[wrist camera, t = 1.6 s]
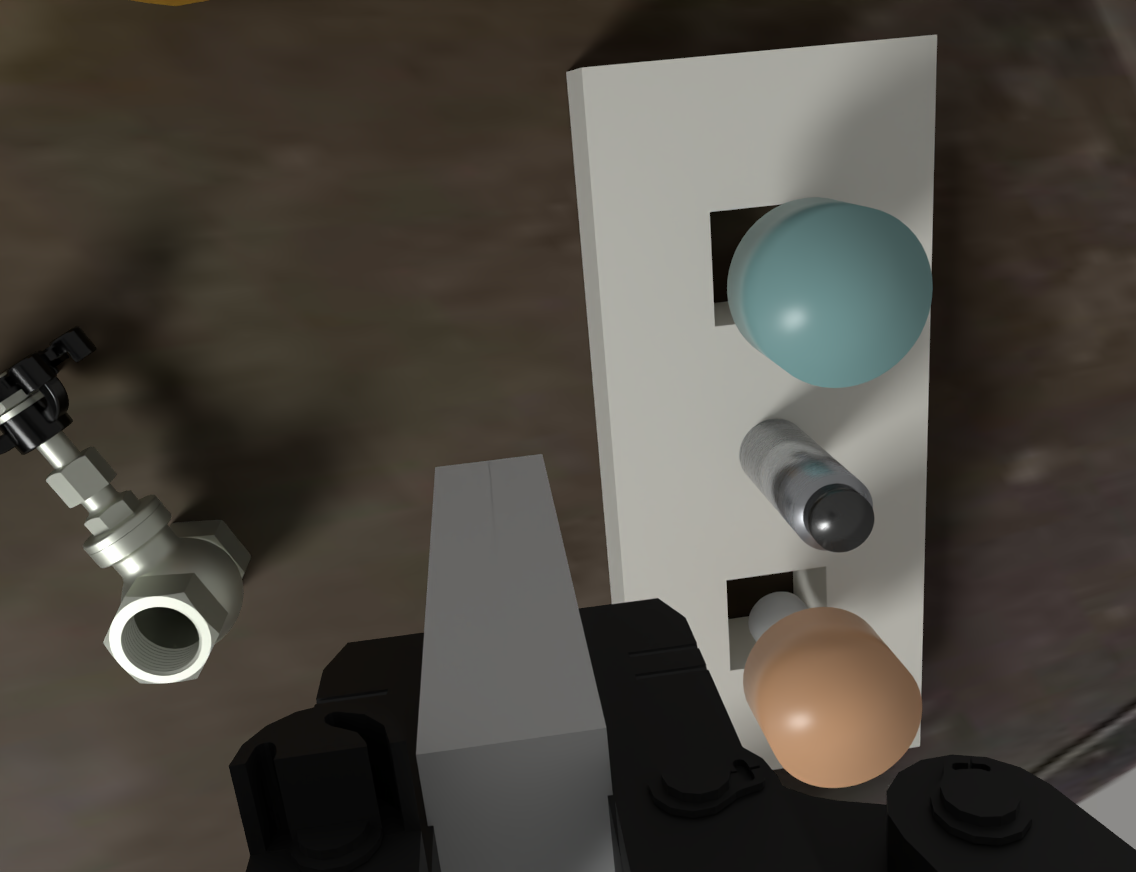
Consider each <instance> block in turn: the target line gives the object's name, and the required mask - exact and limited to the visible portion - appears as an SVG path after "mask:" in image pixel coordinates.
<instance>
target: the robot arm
mask: <svg viewBox="0 0 1136 872" xmlns="http://www.w3.org/2000/svg"><path fill="white" fill-rule="evenodd" d="M316 700H317V704H315V706H314V708H310V709H306V710H302V711H298V712H295V713H293V714H291V715H289V716H286V717H284V718H282V719H280V720H278V721H276V722H274V723H271V724H269V725H267V726H266V727H264V728H263V729H262V730H260V731H259V732H258V733H257V734H255V735H254V736H253V737H252V738H250V739H249V740H248V741H247V742H245V743H244V744H243V745H242V746H241V748H240V749H239V751H238V753H237V754H236V756H235V757H234V759H233V760H232V762H231V763H230V765H229V769H230V773H231V777H232V781H233V785H234V789H235V794H236V798H237V802H238V806H239V810H240V814H241V819H242V823H243V827H244V831H245V835H246V839H247V844H248V848H249V852H250V859H249V862H248V866H247V869H246V872H1136V850H1135V849H1134V848H1132V847H1131V846H1130V845H1129V844H1127V843H1126V842H1124V841H1123V840H1122V839H1121V838H1119V837H1118V836H1117V835H1115V834H1114V833H1113V832H1111V831H1110V830H1109V829H1108V828H1106V827H1105V826H1104V825H1102V824H1101V823H1100V822H1098V821H1097V820H1096V819H1095V818H1093V817H1092V816H1091V815H1089V814H1088V813H1087V812H1085V811H1084V810H1083V809H1082V808H1080V807H1079V806H1078V805H1076V804H1075V803H1074V802H1072V801H1071V800H1070V799H1069V798H1067V797H1066V796H1065V795H1063V794H1062V793H1061V792H1059V791H1058V790H1057V789H1056V788H1054V787H1053V786H1052V785H1050V784H1049V783H1047V782H1045V781H1043V780H1042V779H1040V778H1038V777H1036V776H1035V775H1033V774H1031V773H1029V772H1028V771H1026V770H1024V769H1022V768H1021V767H1017V766H1014V765H1011V764H1007V763H1004V762H1000V761H997V760H994V759H990V758H987V757H976V756H962V755H948V756H942V757H936V758H931V759H925V760H921V761H919V762H917V763H915V764H914V765H912V766H910V767H908V768H906V769H905V770H903V771H901V772H899V773H898V775H897V776H896V778H895V779H894V781H893V782H892V784H891V786H890V787H889V789H888V790H887V805H882V804H871V803H859V802H847V801H836V800H830V799H824V798H818V797H812V796H809V795H806V794H803V793H800V792H797V791H794V790H791V789H788V788H786V787H784V786H782V785H781V782H780V780H779V778H778V776H777V775H776V774H775V773H774V771H773V770H772V769H771V768H770V766H769V765H768V764H767V763H766V762H765V760H764V759H763V758H761V757H760V756H758V755H756V754H754V753H752V752H751V751H749V750H747V749H745V748H743V747H742V745H741V742H740V740H739V738H738V735H737V733H736V731H735V729H734V726H733V724H732V722H731V720H730V717H729V715H728V713H727V710H726V708H725V706H724V704H723V701H722V699H721V697H720V695H719V692H718V690H717V688H716V685H715V683H714V681H713V679H712V676H711V674H710V672H709V670H707V667H706V663H705V660H704V658H703V656H702V654H701V651H700V649H699V648H698V647H697V642H696V640H695V638H694V635H693V633H692V631H691V629H690V626H689V624H688V622H687V620H686V617H684V616H683V615H681V614H680V613H679V612H677V611H676V610H674V609H673V608H671V607H670V606H669V605H667V604H666V603H664V602H663V601H662V600H660V599H659V598H654V599H647V600H639V601H632V602H624V603H617V604H609V605H602V606H595V607H587V608H580V609H578V605H577V601H576V596H575V592H574V588H573V584H572V579H571V575H570V571H569V566H568V562H567V558H566V554H565V549H564V545H563V541H562V537H561V532H560V528H559V524H558V520H557V515H556V511H555V507H554V503H553V498H552V494H551V490H550V486H549V481H548V477H547V473H546V469H545V464H544V460H543V456H542V454H540V455H532V456H524V457H515V458H507V459H499V460H491V461H483V462H475V463H467V464H459V465H450V466H442V467H435V481H434V496H433V511H432V525H431V540H430V555H429V570H428V584H427V599H426V614H425V628H424V633H418V634H410V635H403V636H395V637H388V638H380V639H373V640H365V641H358V642H350V643H347V644H346V645H345V647H344V648H343V649H342V650H341V651H340V652H339V653H338V654H337V655H336V656H335V658H334V659H333V660H332V661H331V662H330V663H329V664H328V665H327V666H326V668H325V669H324V670H323V673H322V677H321V681H320V685H319V690H318V694H317V698H316Z"/></svg>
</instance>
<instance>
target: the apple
mask: <svg viewBox="0 0 1136 872" xmlns="http://www.w3.org/2000/svg"><path fill="white" fill-rule="evenodd" d="M133 1H139V2H145V3H153V4H162V5H171V6H180V5H185V4H191V3H196V2H202V1H207V0H133Z"/></svg>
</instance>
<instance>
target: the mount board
mask: <svg viewBox="0 0 1136 872" xmlns="http://www.w3.org/2000/svg"><path fill="white" fill-rule="evenodd" d="M936 63H937V35H927V36H916V37H905V38H895V39H884V40H873V41H862V42H852V43H841V44H830V45H819V46H809V47H798V48H787V49H776V50H766V51H755V52H744V53H733V54H723V55H712V56H701V57H690V58H679V59H669V60H658V61H647V62H636V63H626V64H615V65H604V66H593V67H583V68H579V69H575V70H572V71H568V72H566V75H567V87H568V98H569V110H570V122H571V133H572V145H573V157H574V168H575V180H576V192H577V203H578V215H579V227H580V238H581V250H582V262H583V273H584V285H585V296H586V308H587V320H588V331H589V343H590V355H591V366H592V378H593V390H594V401H595V413H596V425H597V436H598V448H599V460H600V471H601V483H602V495H603V506H604V518H605V530H606V541H607V553H608V565H609V576H610V588H611V600H612V604H617V603H624V602H632V601H639V600H647V599H654V598H659V599H660V600H662V601H663V602H664V603H666V604H667V605H669V606H670V607H671V608H673V609H674V610H676V611H677V612H679V613H680V614H681V615H683V616H684V617H686V620H687V622H688V624H689V626H690V629H691V631H692V633H693V635H694V638H695V640H696V642H697V647H698V648H699V649H700V651H701V654H702V656H703V658H704V660H705V663H706V667H707V670H709V672H710V674H711V676H712V679H713V681H714V683H715V685H716V688H717V690H718V692H719V695H720V697H721V699H722V701H723V704H724V706H725V708H726V710H727V713H728V715H729V717H730V720H731V722H732V724H733V726H734V729H735V731H736V733H737V735H738V738H739V740H740V742H741V745H742V747H743V748H745V749H747V750H749V751H751V752H752V753H754V754H756V755H758V756H760V757H761V758H763V759H764V760H765V762H766V763H767V764H768V765H769V766H770V768H771V769H772V770H775V769H782V768H783V767H782V765H781V764H780V763H779V761H778V760H777V758H776V756H775V754H774V752H773V751H772V749H771V747H770V745H769V743H768V741H767V739H766V737H765V735H764V733H763V732H762V730H761V728H760V726H759V724H758V722H757V720H756V718H755V716H754V715H753V713H752V711H751V709H750V707H749V705H748V703H747V700H746V697H745V694H744V688H743V674H744V668H745V664H746V661H747V658H748V656H749V654H750V652H751V650H752V648H753V646H754V645H755V643H756V641H755V639H754V638H753V636H752V634H751V633H750V630H749V626H748V619H749V616H747V617H740V618H733V619H728V607H727V585H726V580H733V579H740V578H747V577H754V576H762V575H769V574H776V573H783V572H790V571H793V594H794V595H796V596H798V597H799V598H800V599H801V600H802V601H803V602H804V604H805V605H806V606H807V608H808V609H809V608H815V607H833V608H839V609H843V610H846V611H849V612H851V613H854V614H856V615H858V616H859V617H861V618H862V619H864V620H865V621H866V622H867V623H868V624H869V625H870V626H871V627H872V628H873V629H874V631H875V632H876V633H877V634H878V635H879V637H880V638H881V639H882V640H883V641H884V642H885V644H886V645H887V646H888V647H889V648H890V650H891V651H892V652H893V653H894V654H895V655H896V657H897V658H898V659H899V660H900V661H901V663H902V664H903V665H904V666H905V667H906V668H907V670H908V671H909V672H910V673H911V675H912V676H913V677H914V679H915V681H916V683H917V685H918V687H919V690H920V694H921V684H922V643H923V602H924V560H925V519H926V477H927V436H928V395H929V353H930V312H931V306H930V311H929V315H928V318H927V321H926V323H925V326H924V328H923V330H922V332H921V334H920V336H919V338H918V339H917V341H916V342H915V344H914V345H913V347H912V348H911V349H910V350H909V352H908V353H907V354H906V355H905V356H904V357H903V358H902V359H901V360H900V361H899V362H898V363H897V364H896V365H895V366H893V367H892V368H891V369H890V370H888V371H887V372H885V373H884V374H882V375H880V376H879V377H877V378H874V379H872V380H870V381H868V382H865V383H862V384H859V385H855V386H850V387H843V388H827V387H820V386H815V385H811V384H808V383H806V382H803V381H801V380H799V379H797V378H795V377H793V376H792V375H790V374H789V373H788V372H786V371H785V370H784V369H782V368H781V367H780V366H778V365H777V364H776V363H774V362H773V361H772V360H770V359H769V358H767V357H766V356H765V355H763V354H762V353H761V352H759V351H758V350H757V349H755V348H754V347H753V346H752V345H751V344H750V343H749V342H748V341H747V340H746V339H745V338H744V337H743V335H742V334H741V333H740V331H739V330H738V328H737V326H736V324H735V323H734V320H733V317H732V315H731V312H730V308H729V304H728V301H727V302H718V303H714V296H713V274H712V251H711V229H710V212H715V211H724V210H734V209H743V208H752V207H762V206H771V205H780V204H784V203H787V202H790V201H793V200H796V199H802V198H810V197H820V198H829V199H834V200H838V201H843V202H847V203H852V204H856V205H861V206H865V207H870V208H874V209H878V210H881V211H883V212H886V213H888V214H890V215H892V216H894V217H895V218H897V219H899V220H900V221H901V222H902V223H904V224H905V225H906V226H907V227H908V228H909V229H910V230H911V231H912V232H913V233H914V234H915V235H916V237H917V238H918V240H919V241H920V243H921V244H922V246H923V248H924V250H925V252H926V255H927V257H928V261H929V264H930V268H931V270H932V229H933V188H934V146H935V105H936ZM769 419H784V420H787V421H790V422H792V423H794V424H795V425H797V426H798V427H799V428H800V429H801V430H802V431H803V432H805V433H806V434H807V435H808V436H809V437H810V438H812V439H813V440H814V441H815V442H816V443H817V444H818V445H820V446H821V447H822V448H823V449H824V450H825V451H826V452H828V453H829V454H830V455H831V456H832V457H833V458H835V459H836V460H837V461H838V462H839V463H840V464H841V465H843V466H844V467H845V468H846V469H847V470H848V471H849V472H851V473H852V474H853V475H854V476H855V477H856V478H857V479H859V480H860V481H861V482H862V483H863V484H864V485H865V486H866V487H867V489H868V490H869V492H870V494H871V497H872V501H873V511H874V526H873V529H872V531H871V533H870V535H869V537H868V538H867V539H866V540H865V541H864V542H863V543H862V544H861V545H860V546H858V547H857V548H855V549H853V550H850V551H847V552H840V553H838V552H831V551H823V550H818V549H815V548H813V547H811V546H809V545H807V544H806V543H805V542H804V541H803V540H802V539H801V538H800V537H799V536H798V535H797V533H796V532H795V531H794V530H793V529H792V528H791V526H790V525H789V524H788V523H787V522H786V521H785V519H784V518H783V517H782V516H781V515H780V514H779V512H778V511H777V510H776V509H775V508H774V506H773V505H772V504H771V503H770V502H769V501H768V499H767V498H766V497H765V496H764V495H763V494H762V492H761V491H760V490H759V489H758V488H757V487H756V485H755V484H754V483H753V482H752V481H751V480H750V478H749V477H748V476H747V475H746V474H745V472H744V471H743V469H742V467H741V464H740V459H739V452H740V447H741V443H742V441H743V439H744V437H745V436H746V434H747V433H748V432H749V431H750V430H751V429H752V428H753V427H754V426H756V425H757V424H759V423H761V422H763V421H766V420H769ZM920 726H921V722H920ZM920 726H919V729H918V732H917V734H916V736H915V738H914V740H913V742H912V744H911V745H910V747H909V748H913V747H920Z"/></svg>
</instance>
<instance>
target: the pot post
mask: <svg viewBox="0 0 1136 872" xmlns="http://www.w3.org/2000/svg"><path fill="white" fill-rule="evenodd" d="M739 459H740V464H741V467H742V469H743V471H744V472H745V474H746V475H747V476H748V477H749V478H750V480H751V481H752V482H753V483H754V484H755V485H756V487H757V488H758V489H759V490H760V491H761V492H762V494H763V495H764V496H765V497H766V498H767V499H768V501H769V502H770V503H771V504H772V505H773V506H774V508H775V509H776V510H777V511H778V512H779V514H780V515H781V516H782V517H783V518H784V519H785V521H786V522H787V523H788V524H789V525H790V526H791V528H792V529H793V530H794V531H795V532H796V533H797V535H798V536H799V537H800V538H801V539H802V540H803V541H804V542H805V543H806V544H807V545H809V546H811V547H813V548H815V549H818V550H823V551H831V552H838V553H840V552H847V551H850V550H853V549H855V548H857V547H858V546H860V545H861V544H862V543H863V542H864V541H865V540H866V539H867V538H868V537H869V535H870V533H871V531H872V529H873V526H874V511H873V501H872V497H871V494H870V492H869V490H868V489H867V487H866V486H865V485H864V484H863V483H862V482H861V481H860V480H859V479H857V478H856V477H855V476H854V475H853V474H852V473H851V472H849V471H848V470H847V469H846V468H845V467H844V466H843V465H841V464H840V463H839V462H838V461H837V460H836V459H835V458H833V457H832V456H831V455H830V454H829V453H828V452H826V451H825V450H824V449H823V448H822V447H821V446H820V445H818V444H817V443H816V442H815V441H814V440H813V439H812V438H810V437H809V436H808V435H807V434H806V433H805V432H803V431H802V430H801V429H800V428H799V427H798V426H797V425H795V424H794V423H792V422H790V421H787V420H784V419H769V420H766V421H763V422H761V423H759V424H757V425H756V426H754V427H753V428H752V429H751V430H750V431H749V432H748V433H747V434H746V436H745V437H744V439H743V441H742V443H741V447H740V452H739Z"/></svg>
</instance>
